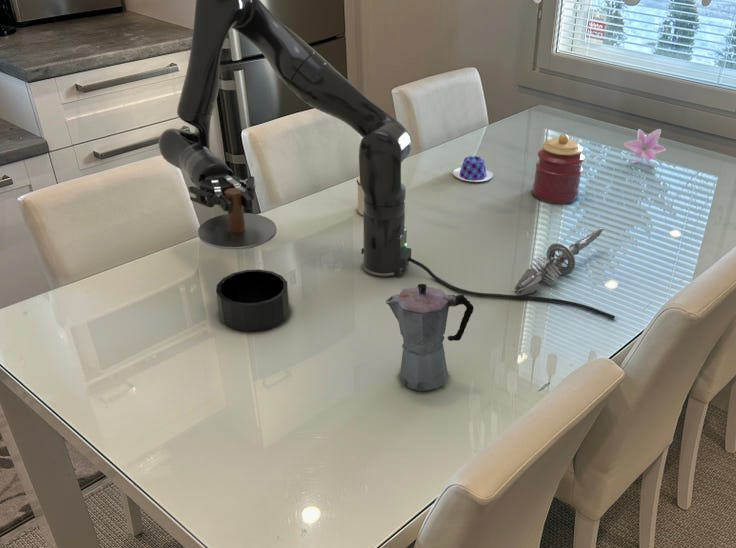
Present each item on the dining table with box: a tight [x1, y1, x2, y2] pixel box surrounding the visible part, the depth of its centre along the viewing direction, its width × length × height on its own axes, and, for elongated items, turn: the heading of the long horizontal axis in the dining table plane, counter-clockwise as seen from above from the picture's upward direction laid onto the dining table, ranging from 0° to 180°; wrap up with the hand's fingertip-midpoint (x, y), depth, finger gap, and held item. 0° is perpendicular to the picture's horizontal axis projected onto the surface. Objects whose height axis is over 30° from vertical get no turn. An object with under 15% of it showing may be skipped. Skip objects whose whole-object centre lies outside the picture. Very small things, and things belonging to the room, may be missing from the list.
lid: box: [197, 188, 277, 251], centre depth 141 cm, size 15×15×9 cm
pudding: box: [452, 155, 494, 183], centre depth 216 cm, size 12×12×5 cm
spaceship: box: [512, 227, 604, 296], centre depth 170 cm, size 8×35×8 cm
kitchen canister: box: [532, 133, 585, 205], centre depth 204 cm, size 13×13×18 cm
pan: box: [215, 269, 290, 333], centre depth 150 cm, size 14×14×6 cm
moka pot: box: [384, 283, 474, 392], centre depth 131 cm, size 10×15×20 cm, turn 95°
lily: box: [623, 128, 667, 168], centre depth 234 cm, size 12×12×10 cm
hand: (239, 206), depth 138 cm, fingers closed on lid, 3 cm apart
